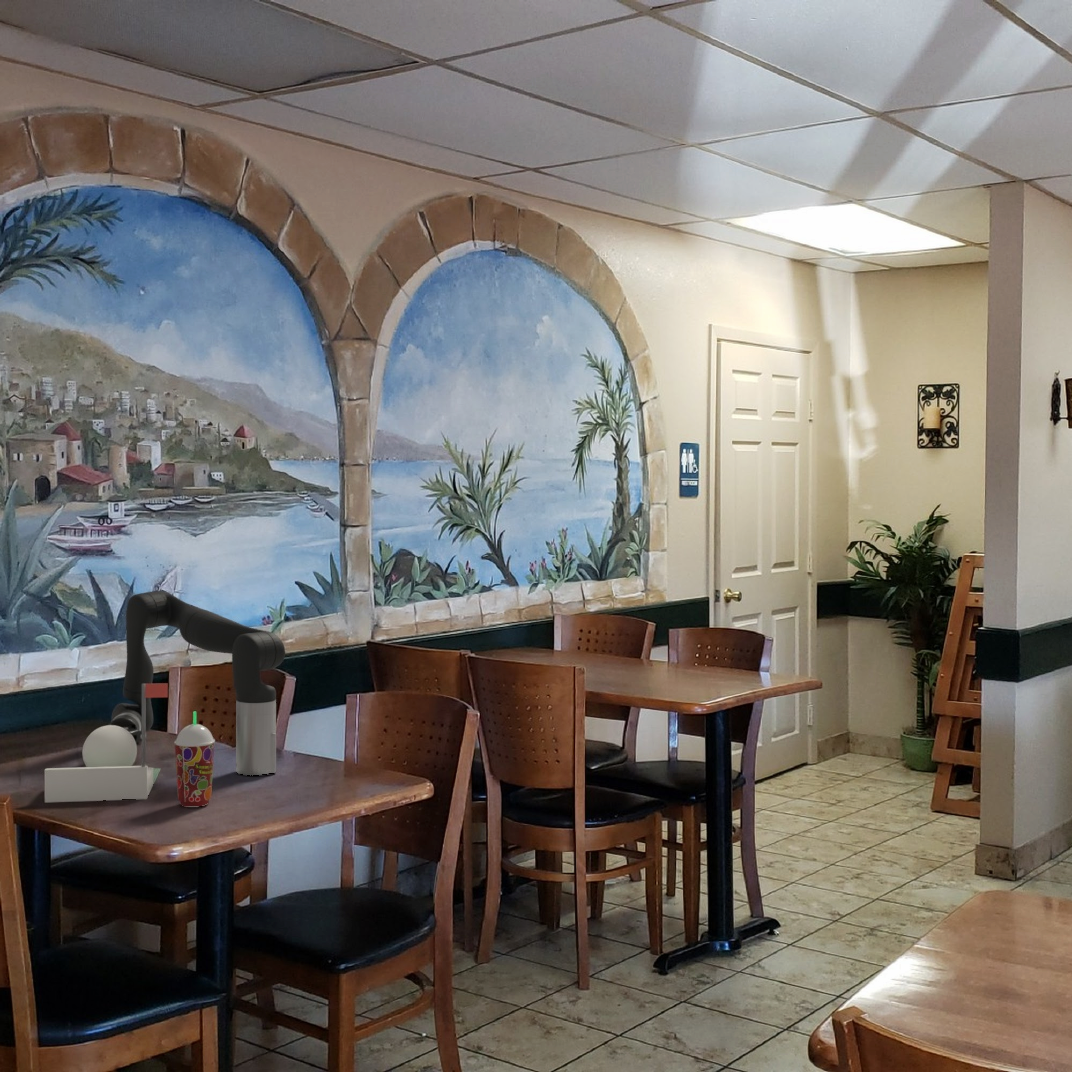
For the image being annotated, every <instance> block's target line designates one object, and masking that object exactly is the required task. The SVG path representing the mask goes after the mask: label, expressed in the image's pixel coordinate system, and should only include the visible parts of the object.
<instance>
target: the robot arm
mask: <svg viewBox="0 0 1072 1072" xmlns="http://www.w3.org/2000/svg"><path fill="white" fill-rule="evenodd" d="M125 610H126V611H125V612H126V613H125V630H126V631H125V633H126V635H125V636H126V638H125V639H126V642H125V643H126V667H125V674H124V679H123V680H124V681H123V686H122V687H123V688H122V696H123V697H124V698H125V699H126V700H127V701H131V702H133V703H134V704H132V703H128V702H127V703H126V702H122V703H118V704H116V706H114V707H113V710H112V713H111V717H110V718H111V721H110V723H109V724H108V725H115V726H120V727H122V728H124V729H126V730H127V731H128V732H130V733H131V735H132V736H133V737H134V739H135V742H136V744H137V743H140V742H141V743H142V684H153V680H154V666H153V665H154V664H153V662H152V659H151V657H150V655H149V653H148V651H147V648H146V646H145V634H146V631H147V629H148V630H149V629H154V628H158V627H164V626H168V627H174V628H177V629H179V633H180V636H181V637H182V638H183V640H184V641H185V642H187V643H188V644H190V645H191V646H194V647H196V648H199V649H202V650H204V651H208V652H212V653H220V654H221V653H223V654H231V662H232V664H231V665H232V679H233V680H232V681H233V682H232V683H233V688H234V691H235V692H234V693H235V697H236V699H235V700H236V701H235V702H236V706H235V707H236V708H235V710H236V711H235V712H236V713H235V716H236V718H235V719H236V721H235V722H236V724H235V727H236V728H235V730H236V731H235V735H236V736H235V739H236V741H235V742H236V743H235V745H236V746H235V749H236V750H235V752H236V753H235V767H236V768H235V773H236V772H237V773H238V774H237V773H236V774H237V775H240V774H243V775H242V776H247V775H250V776H251V775H252V776H251V777H253V775H259V776H263V775H262V774H267V775H269V774H268V773H275V772H277V703H276V702H277V690H276V688H275V687H274V686H271V685H268V684H266V683H264V682H263V681H262V676H261V672H263V671H270V670H273V669H275V668H277V667H279V666H280V665H281V664H282V663H283V662H284V659H285V657H286V649H285V645H284V643H283V641H282V639H281V638H280V637H279V636H278V635H277V634H276V633H274V632H271V631H267V630H262V629H257V628H254V627H251V626H250V627H249V626H246V625H243V624H241V623H239V622H237V621H234V620H232V619H229V618H227V617H224V616H222V615H219V614H217V613H214V612H212V611H209V610H207V609H204V608H201V607H198V606H195V605H193V604H191V603H187V602H185V601H183V600H181V599H180V598H179V597H176V596H175V595H173V594H171V593H169V592H167V591H164V590H154V591H153V590H152V591H147V592H141V593H140V592H139V593H135V594H134V595H132V596H131V597H130V598H129V599H128V601H127V605H126V609H125ZM153 724H154V712H153V707H152V698H146V733H147V732H148V731H150V729H151V728H152V726H153ZM250 776H249V777H250Z"/></svg>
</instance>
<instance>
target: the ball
mask: <svg viewBox="0 0 1072 1072" xmlns="http://www.w3.org/2000/svg"><path fill="white" fill-rule="evenodd" d="M137 753H138V745H137V743H136V742H135V739H134V737H133V736H132V735H131V733H130V732H128V731H127V730H126V729H124V728H122V727H120V726H115V725H109V724H108V725H102V726H100V727H97V728H96V729H94V730H93V731H91V733H90V734H89V735H88V736H87V737H86V739H85V741H84V743H83V745H82V760H83V762H84V765H85V767H115V766H134V764H135V761H136V759H137V755H138V754H137Z"/></svg>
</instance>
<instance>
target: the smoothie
mask: <svg viewBox="0 0 1072 1072" xmlns="http://www.w3.org/2000/svg"><path fill="white" fill-rule="evenodd" d="M192 711H193V710H192ZM192 713H193V715H192V717H193V718H192V719H193V720H192V724H188V725H186V726H184V727H183V728H182V729H181V730H180V732H179V733H178V734H177V736H176V739H175V740H174V743H173V744H174V753H175V755H174V756H175V768H176V769H175V770H176V772H175V773H176V781H177V782H176V785H177V786H176V788H177V799H178V801H179V802H180V806H181V805H183V806H202V805H205V804H207V803H208V804H209V802H210V800H211V799H212V789H213V788H212V787H213V776H214V775H213V774H214V759H215V743H216V739H215V738H214V737H213V734H212V732H211V731H210V729H208V728H207V727H206V726H204V725H202V724H199V723H197V711H193V712H192ZM183 806H182V807H183Z"/></svg>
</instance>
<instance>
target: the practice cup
mask: <svg viewBox="0 0 1072 1072" xmlns="http://www.w3.org/2000/svg"><path fill="white" fill-rule="evenodd" d="M168 686H169V685H168V682H167V683H166V682H165V683H163V682H162V683H160V682H159V683H152V684H142V741H141V765H132V766H115V767H87V766H83V767H82V766H81V767H56V768H55V767H52V768H51V767H50V768H45V769H44V803H67V802H68V803H69V802H71V803H72V802H74V803H76V802H97V801H98V802H100V801H101V802H102V801H103V800H106V801H123V800H122V799H136V800H148V797H149V796H148V795H150V793H151V791H152V789H153V787H154V785H153V784H155V782H156V780H157V778H158V775H159V773H160V771H161V767H160V768H159V767H158V768H154V767H153V766H152V767H148V765H146V757H147V756H146V753H147V751H146V750H147V748H146V747H147V746H146V745H147V744H146V741H147V732H146V698H151V699H153V698H157V699H158V698H168V695H169V693H168V691H169V689H168V688H169V687H168Z"/></svg>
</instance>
